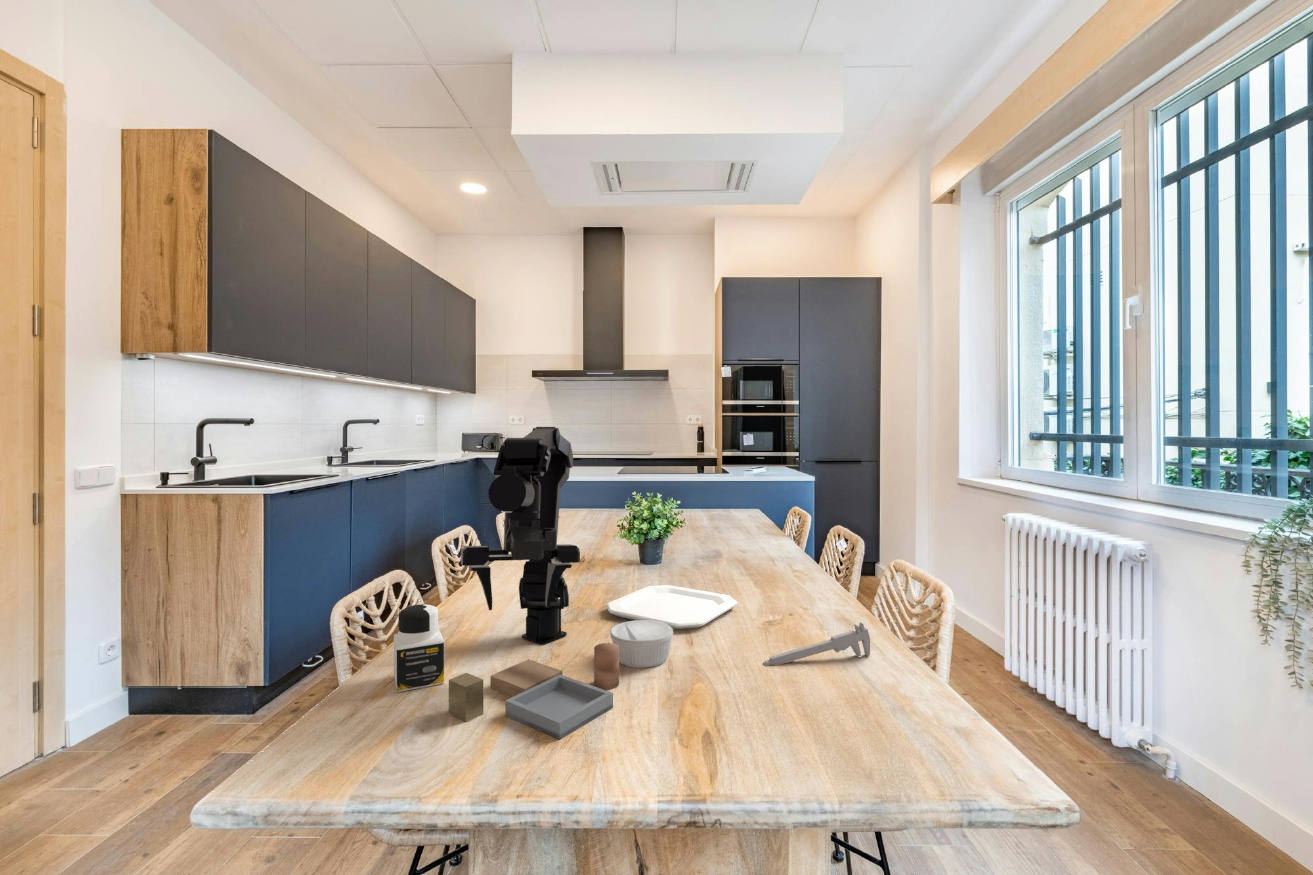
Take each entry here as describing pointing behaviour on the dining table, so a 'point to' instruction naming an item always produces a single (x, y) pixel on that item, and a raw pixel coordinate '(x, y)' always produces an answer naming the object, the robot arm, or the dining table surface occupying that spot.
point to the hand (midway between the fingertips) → (519, 608)
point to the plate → (672, 606)
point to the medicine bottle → (418, 649)
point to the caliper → (827, 646)
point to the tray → (559, 705)
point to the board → (522, 677)
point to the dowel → (606, 666)
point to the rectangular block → (466, 697)
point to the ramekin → (642, 642)
